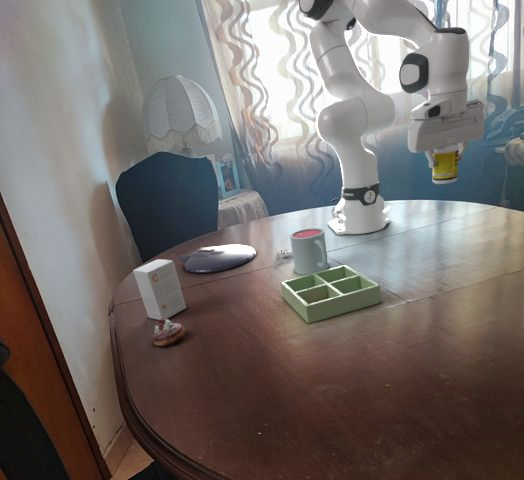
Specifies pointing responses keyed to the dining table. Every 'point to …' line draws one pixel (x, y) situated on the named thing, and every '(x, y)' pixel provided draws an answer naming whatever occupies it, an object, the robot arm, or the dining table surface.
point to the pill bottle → (446, 163)
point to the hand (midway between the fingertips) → (445, 164)
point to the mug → (309, 251)
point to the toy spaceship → (217, 258)
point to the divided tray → (330, 293)
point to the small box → (160, 289)
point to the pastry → (167, 333)
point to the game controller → (284, 254)
